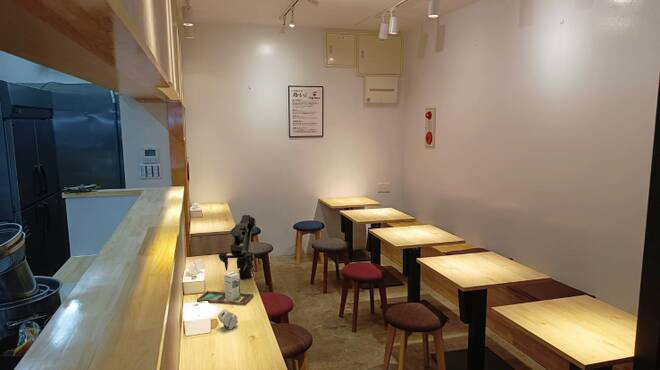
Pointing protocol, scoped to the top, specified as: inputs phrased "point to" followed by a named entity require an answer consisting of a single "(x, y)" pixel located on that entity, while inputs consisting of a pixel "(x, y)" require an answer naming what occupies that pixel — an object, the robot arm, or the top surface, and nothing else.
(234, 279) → the syrup box
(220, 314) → the grey lumpy piece
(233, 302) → the brown rectangular tray
